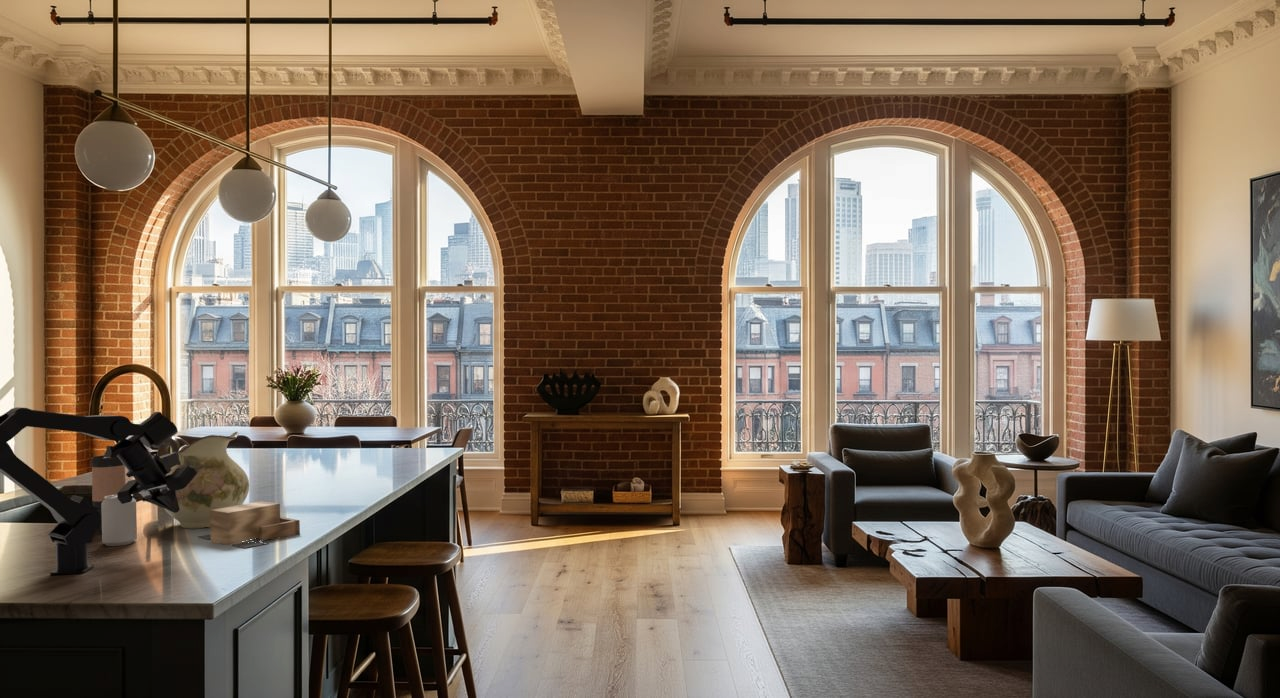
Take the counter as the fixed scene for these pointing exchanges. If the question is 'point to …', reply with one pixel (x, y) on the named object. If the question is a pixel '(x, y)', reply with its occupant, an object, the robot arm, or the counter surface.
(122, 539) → the can
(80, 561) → the robot arm
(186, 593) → the counter surface
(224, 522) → the oak block
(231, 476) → the pitcher
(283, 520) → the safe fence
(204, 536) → the trap mat left
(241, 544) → the plate
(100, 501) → the travel mug
